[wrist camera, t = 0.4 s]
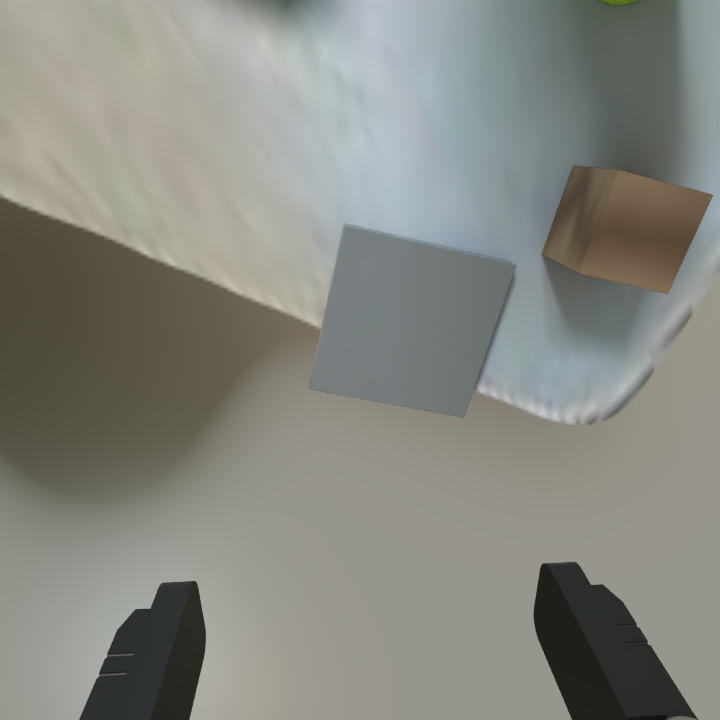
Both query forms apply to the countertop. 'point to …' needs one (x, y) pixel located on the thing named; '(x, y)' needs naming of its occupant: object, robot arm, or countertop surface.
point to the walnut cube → (624, 227)
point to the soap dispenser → (618, 2)
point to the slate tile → (408, 321)
